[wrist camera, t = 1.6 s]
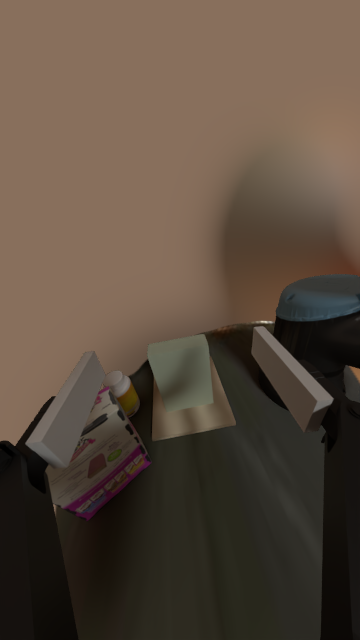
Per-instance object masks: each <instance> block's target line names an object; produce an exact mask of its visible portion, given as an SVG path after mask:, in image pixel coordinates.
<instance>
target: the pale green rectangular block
mask: <svg viewBox="0 0 360 640" xmlns="http://www.w3.org/2000/svg"><path fill="white" fill-rule="evenodd" d="M147 357H148V360H149V363H150V366H151V368H152V371H153V374H154V377H155V380H156V383H157V386H158V389H159V391H160V394H161V397H162V400H163V403H164V406H165V409H166V411H167V412H171V411H176V410H181V409H186V408H191V407H196V406H201V405H206V404H212V403H214V402H213V391H212V381H211V370H210V359H209V348H208V343H207V340H206V338H205V335H204V334H200V335H195V336H190V337H185V338H180V339H175V340H169V341H164V342H159V343H154V344H149V345H148V353H147Z"/></svg>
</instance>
